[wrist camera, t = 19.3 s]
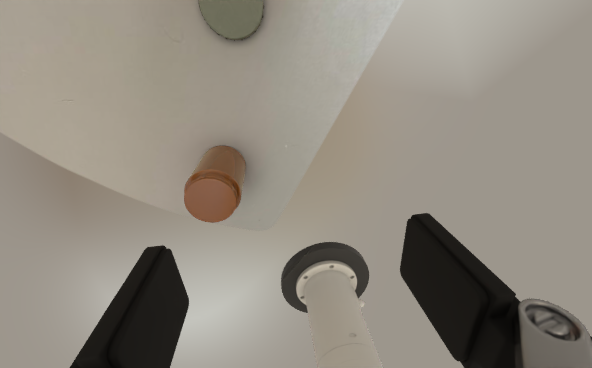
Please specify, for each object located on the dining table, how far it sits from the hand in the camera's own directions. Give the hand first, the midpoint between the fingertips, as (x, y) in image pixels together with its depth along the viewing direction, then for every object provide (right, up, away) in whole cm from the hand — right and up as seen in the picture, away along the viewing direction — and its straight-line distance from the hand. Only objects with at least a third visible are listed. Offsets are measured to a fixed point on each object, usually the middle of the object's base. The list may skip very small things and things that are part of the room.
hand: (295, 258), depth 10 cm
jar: (-11, +6, +28) cm, 30 cm away
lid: (-7, +23, +18) cm, 30 cm away
